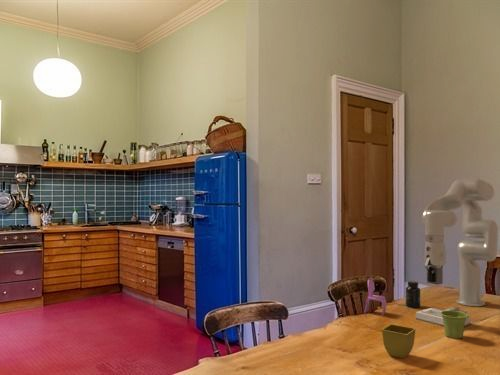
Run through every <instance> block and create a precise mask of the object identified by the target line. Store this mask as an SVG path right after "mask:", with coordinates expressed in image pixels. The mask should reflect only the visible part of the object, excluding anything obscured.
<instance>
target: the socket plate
mask: <svg viewBox="0 0 500 375" xmlns="http://www.w3.org/2000/svg"><path fill="white" fill-rule="evenodd" d="M442 310H443V309H441V308H440V309H439V308H435V307H429V308H426V309H421V310H419V311H415V319H416V320H419V321H422V322H426V323H430V324H434V325H439V326H441V327H444V323H443V318H442V315H441V312H442ZM471 320H472V319H471V316H469V315H467V318H466V321H465V325H464V327H466V326H468V325H469V326H470V325H471V322H472V321H471Z"/></svg>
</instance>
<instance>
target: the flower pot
mask: <svg viewBox="0 0 500 375" xmlns="http://www.w3.org/2000/svg"><path fill="white" fill-rule="evenodd" d="M381 333H382V334H381V335H382V341H383V346H384V349H385V350H386V353H387V354H388V356H391V357H395V358H399V359H406V357H408V356H409V355H410V353H411V352H412V349H413V347H414V345H415V337H416V328H414V327H410V326H409V327H408V326H405V325H404V326H403V325H398V324H393V323H390V324H388V325H386V326H385V327H383V328H382V329H381Z"/></svg>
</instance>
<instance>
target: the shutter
mask: <svg viewBox="0 0 500 375" xmlns="http://www.w3.org/2000/svg"><path fill="white" fill-rule="evenodd" d="M441 310H442V311H458V312H462V313H465V314H467V315H468V311H467V310H463V309H460V307H457V306H456V307H450V308H449V307H448V308H445V309H441Z"/></svg>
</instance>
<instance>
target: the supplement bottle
mask: <svg viewBox="0 0 500 375" xmlns="http://www.w3.org/2000/svg"><path fill="white" fill-rule="evenodd" d="M405 306H406V307H407V308H412V309H419V308H421V288H420V287H419V282H418V281H416V280H409V281H407V286H406V288H405Z"/></svg>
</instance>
